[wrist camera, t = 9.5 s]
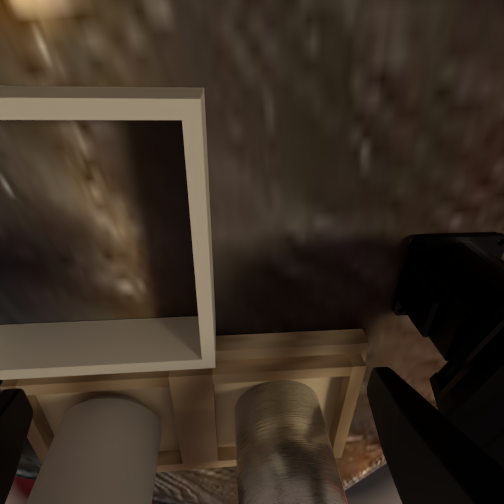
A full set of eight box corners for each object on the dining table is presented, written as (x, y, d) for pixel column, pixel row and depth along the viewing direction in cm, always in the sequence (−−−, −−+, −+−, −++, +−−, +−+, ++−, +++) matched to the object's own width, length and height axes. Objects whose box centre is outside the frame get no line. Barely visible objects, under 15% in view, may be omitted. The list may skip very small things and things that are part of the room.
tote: (204, 87, 17) (200, 98, 14) (215, 323, 25) (215, 367, 22) (-139, 84, 16) (-237, 96, 12) (-12, 334, 24) (-50, 382, 21)
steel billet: (323, 377, 27) (387, 582, 17) (313, 430, 31) (362, 624, 20) (233, 382, 26) (243, 597, 16) (234, 436, 30) (243, 639, 20)
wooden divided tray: (362, 328, 27) (376, 355, 24) (336, 434, 34) (345, 463, 32) (7, 345, 25) (-15, 377, 22) (60, 454, 32) (47, 487, 30)
